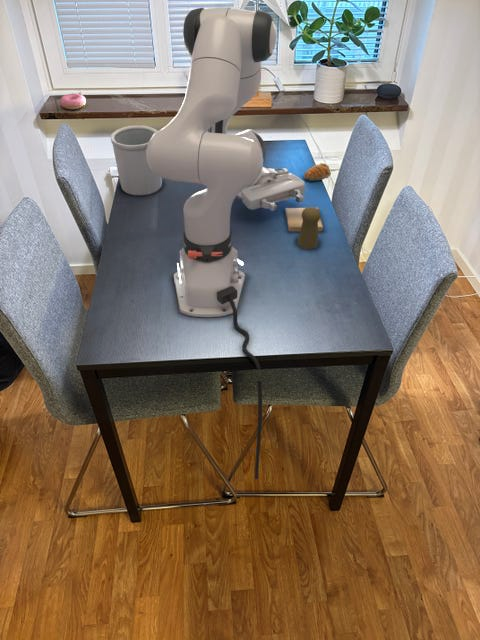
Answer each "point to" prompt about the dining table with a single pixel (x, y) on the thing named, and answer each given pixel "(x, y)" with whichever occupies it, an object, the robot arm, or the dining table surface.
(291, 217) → the serving board
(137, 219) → the dining table surface
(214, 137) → the robot arm
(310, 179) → the pastry
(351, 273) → the dining table surface
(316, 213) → the olive brown pawn
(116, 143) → the utensil holder
